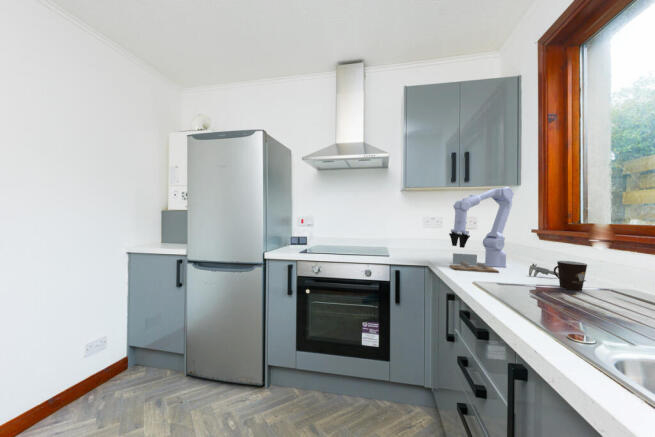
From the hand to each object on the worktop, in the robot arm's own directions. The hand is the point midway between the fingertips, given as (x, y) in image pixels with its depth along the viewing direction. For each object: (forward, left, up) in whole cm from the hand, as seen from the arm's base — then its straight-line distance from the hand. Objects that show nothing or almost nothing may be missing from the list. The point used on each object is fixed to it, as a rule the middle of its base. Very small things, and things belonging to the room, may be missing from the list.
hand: (458, 246), depth 147 cm
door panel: (-5, -6, -11) cm, 13 cm away
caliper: (-37, +18, -11) cm, 43 cm away
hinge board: (-5, +9, -10) cm, 15 cm away
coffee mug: (-30, +37, -11) cm, 49 cm away
